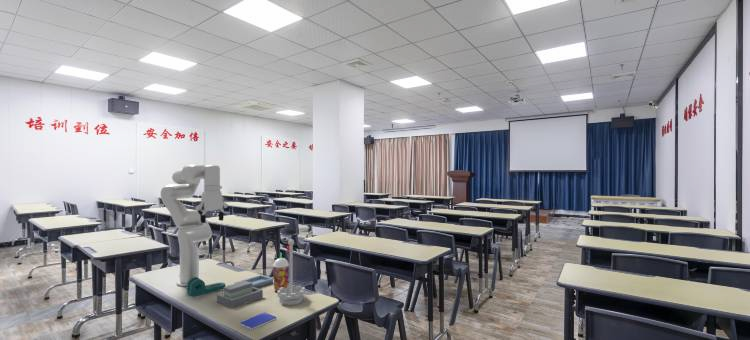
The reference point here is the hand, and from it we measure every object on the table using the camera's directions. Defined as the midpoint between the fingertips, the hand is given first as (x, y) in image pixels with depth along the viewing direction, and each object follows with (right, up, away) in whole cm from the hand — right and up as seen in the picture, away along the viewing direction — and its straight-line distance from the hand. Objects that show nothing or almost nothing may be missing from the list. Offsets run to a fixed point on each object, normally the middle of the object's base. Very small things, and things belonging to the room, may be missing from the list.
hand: (212, 221), depth 183 cm
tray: (+18, -37, +10) cm, 42 cm away
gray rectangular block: (+17, -37, -10) cm, 42 cm away
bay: (+19, -37, -11) cm, 43 cm away
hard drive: (+36, -38, -35) cm, 63 cm away
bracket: (-3, -37, +1) cm, 37 cm away
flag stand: (+44, -37, -12) cm, 59 cm away
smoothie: (+35, -37, +2) cm, 51 cm away
